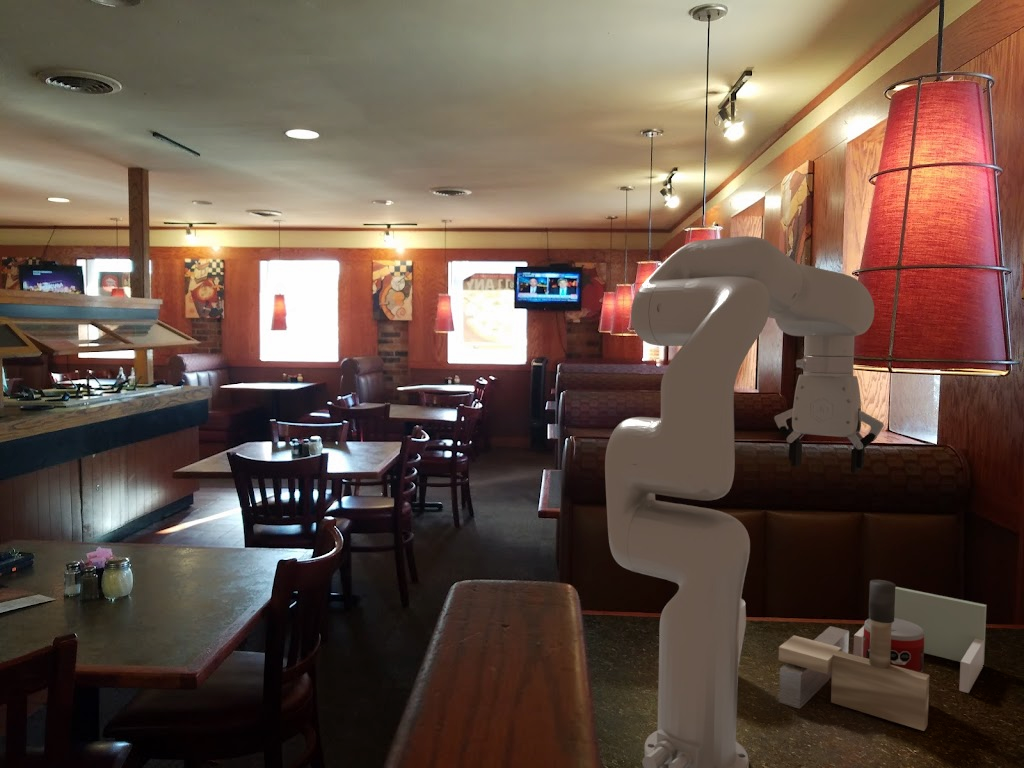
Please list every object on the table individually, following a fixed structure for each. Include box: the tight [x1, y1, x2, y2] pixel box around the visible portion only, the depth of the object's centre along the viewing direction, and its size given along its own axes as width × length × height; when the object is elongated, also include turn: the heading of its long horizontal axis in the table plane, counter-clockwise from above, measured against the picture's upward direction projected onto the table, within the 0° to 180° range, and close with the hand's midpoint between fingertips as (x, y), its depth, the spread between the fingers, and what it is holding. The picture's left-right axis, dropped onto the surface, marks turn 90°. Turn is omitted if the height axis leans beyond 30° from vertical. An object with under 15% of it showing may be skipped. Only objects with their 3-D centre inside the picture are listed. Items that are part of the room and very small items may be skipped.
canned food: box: [863, 618, 925, 673], centre depth 109 cm, size 8×8×11 cm
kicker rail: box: [778, 626, 850, 710], centre depth 115 cm, size 22×3×5 cm, turn 139°
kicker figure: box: [778, 579, 930, 732], centre depth 106 cm, size 6×19×18 cm, turn 49°
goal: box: [852, 586, 988, 694], centre depth 122 cm, size 13×16×10 cm
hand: (825, 468), depth 125 cm, fingers open, 9 cm apart
